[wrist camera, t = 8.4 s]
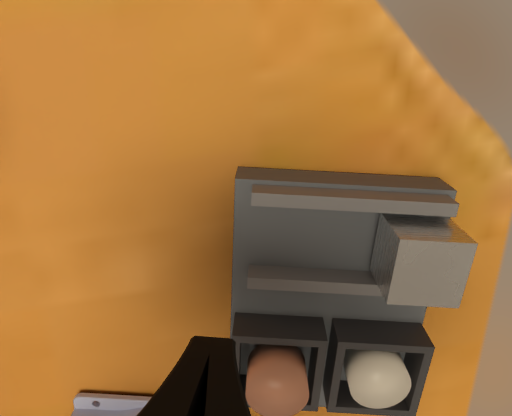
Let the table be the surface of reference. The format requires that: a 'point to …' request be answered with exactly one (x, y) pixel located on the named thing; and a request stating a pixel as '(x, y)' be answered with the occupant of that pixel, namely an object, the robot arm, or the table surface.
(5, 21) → the table surface
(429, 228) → the slider knob
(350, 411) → the control panel
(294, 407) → the terracotta button
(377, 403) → the cream button
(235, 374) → the robot arm
